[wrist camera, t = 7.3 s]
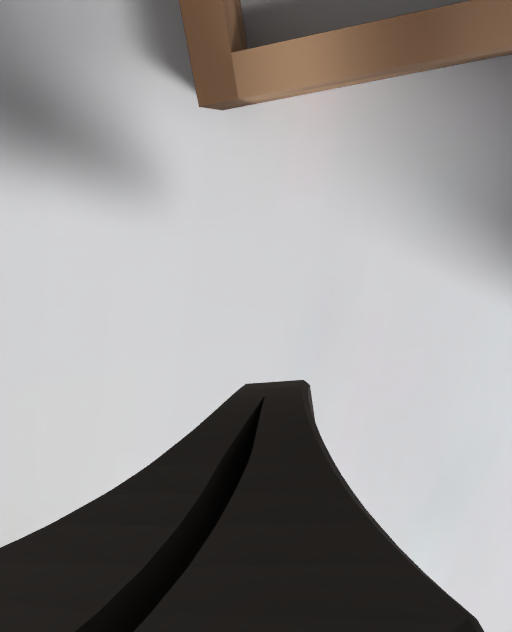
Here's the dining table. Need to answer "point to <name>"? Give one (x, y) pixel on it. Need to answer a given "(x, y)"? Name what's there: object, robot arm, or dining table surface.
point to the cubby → (334, 50)
